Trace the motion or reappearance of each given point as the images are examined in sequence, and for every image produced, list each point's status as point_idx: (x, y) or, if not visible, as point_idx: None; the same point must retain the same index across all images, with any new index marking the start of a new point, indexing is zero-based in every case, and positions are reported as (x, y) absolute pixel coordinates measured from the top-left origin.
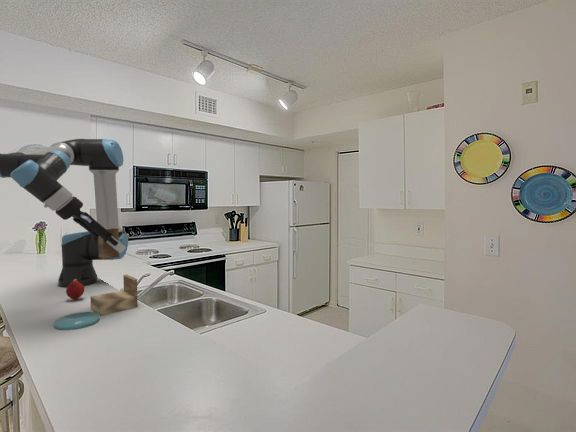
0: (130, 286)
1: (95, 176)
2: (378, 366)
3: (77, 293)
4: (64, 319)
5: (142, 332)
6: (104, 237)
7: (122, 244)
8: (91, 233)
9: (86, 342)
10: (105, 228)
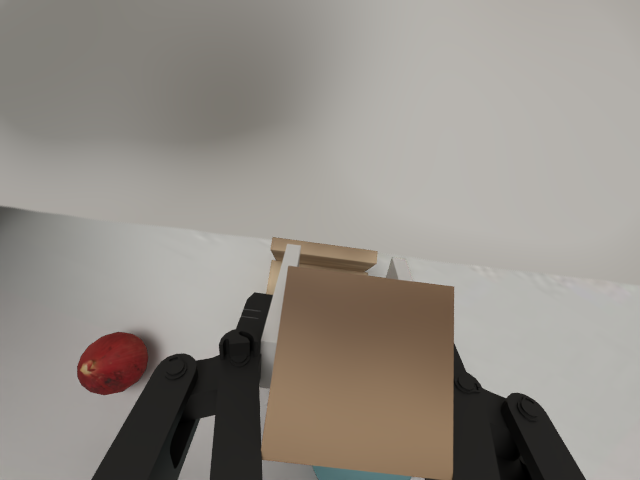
0: (339, 264)
1: None
2: None
3: (146, 363)
4: (344, 472)
5: (546, 355)
6: (527, 473)
7: (412, 279)
8: (175, 473)
9: None
10: (338, 389)
